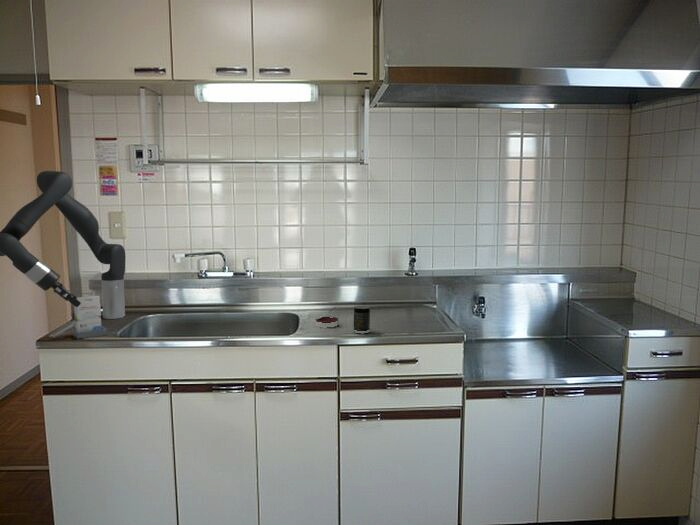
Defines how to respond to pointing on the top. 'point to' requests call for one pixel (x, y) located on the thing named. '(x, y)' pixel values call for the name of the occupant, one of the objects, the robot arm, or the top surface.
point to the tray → (89, 333)
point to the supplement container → (361, 318)
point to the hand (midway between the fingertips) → (78, 303)
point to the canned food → (326, 318)
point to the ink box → (88, 314)
